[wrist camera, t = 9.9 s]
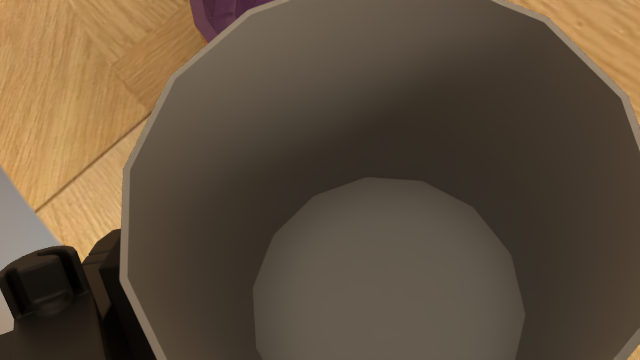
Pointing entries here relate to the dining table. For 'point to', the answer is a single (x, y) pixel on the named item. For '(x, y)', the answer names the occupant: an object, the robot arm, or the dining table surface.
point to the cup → (386, 191)
